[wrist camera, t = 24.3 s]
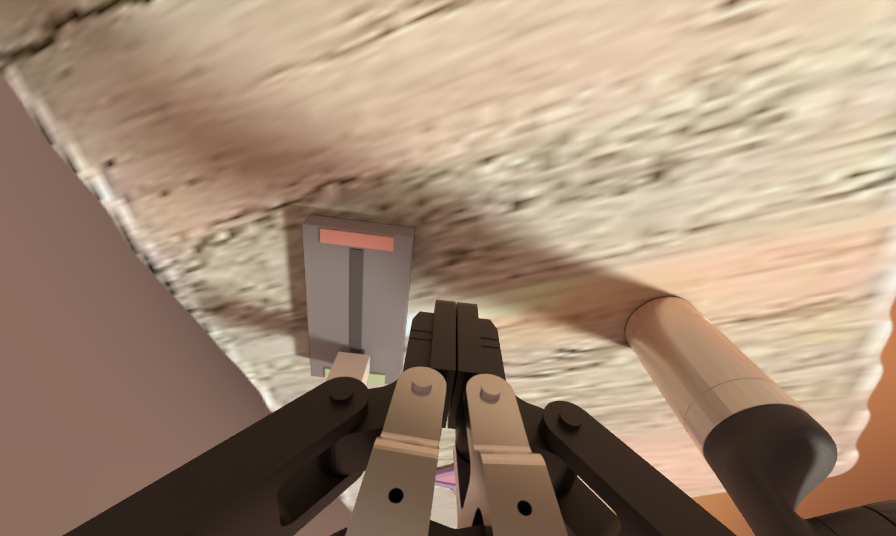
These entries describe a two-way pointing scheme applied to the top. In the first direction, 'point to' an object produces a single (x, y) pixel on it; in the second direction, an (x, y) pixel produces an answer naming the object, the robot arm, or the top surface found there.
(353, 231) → the switch base
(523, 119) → the top surface
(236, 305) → the top surface
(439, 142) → the top surface
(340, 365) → the handle
